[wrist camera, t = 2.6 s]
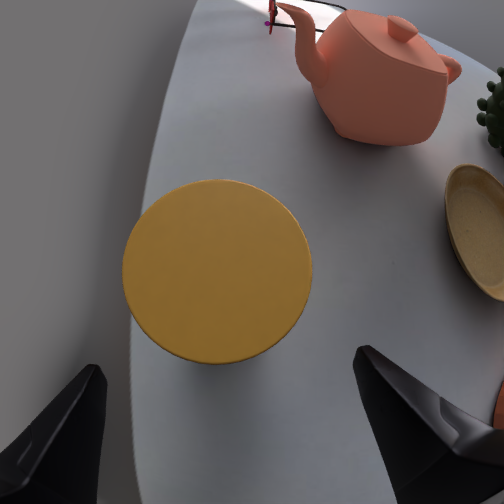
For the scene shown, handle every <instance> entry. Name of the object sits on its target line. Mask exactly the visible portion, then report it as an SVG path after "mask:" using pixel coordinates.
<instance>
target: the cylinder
mask: <svg viewBox="0 0 504 504" xmlns="http://www.w3.org/2000/svg"><path fill="white" fill-rule="evenodd" d="M122 281H123V289H124V294H125V298H126V301H127V304H128V306H129V309H130V311H131V313H132V315H133V317H134V319H135V320H136V322H137V323H138V325H139V326H140V328H141V329H142V330H143V332H144V333H145V334H146V335H147V336H148V337H149V338H150V339H151V340H152V341H153V342H155V343H156V344H157V345H159V346H160V347H161V348H162V349H164V350H166V351H168V352H169V353H171V354H173V355H175V356H177V357H180V358H182V359H185V360H188V361H192V362H196V363H201V364H211V365H220V364H231V363H236V362H241V361H244V360H247V359H250V358H253V357H255V356H257V355H259V354H261V353H263V352H265V351H267V350H268V349H270V348H271V347H273V346H274V345H276V344H277V343H278V342H279V341H280V340H281V339H283V338H284V337H285V336H286V335H287V334H288V333H289V331H290V330H291V329H292V328H293V327H294V325H295V324H296V322H297V321H298V319H299V317H300V316H301V314H302V312H303V310H304V308H305V305H306V303H307V300H308V297H309V293H310V289H311V282H312V260H311V253H310V249H309V246H308V242H307V240H306V237H305V235H304V233H303V230H302V229H301V227H300V225H299V224H298V222H297V220H296V219H295V218H294V216H293V215H292V214H291V212H290V211H289V210H288V209H287V208H286V207H285V206H284V205H283V204H282V203H281V202H279V201H278V200H277V199H276V198H274V197H273V196H272V195H270V194H268V193H267V192H265V191H263V190H261V189H259V188H257V187H254V186H252V185H249V184H246V183H243V182H238V181H233V180H222V179H214V180H203V181H197V182H193V183H190V184H187V185H184V186H181V187H179V188H177V189H174V190H173V191H171V192H169V193H167V194H166V195H164V196H163V197H161V198H160V199H159V200H157V201H156V202H155V203H154V204H153V205H152V206H150V207H149V208H148V209H147V210H146V212H145V213H144V214H143V215H142V216H141V218H140V219H139V220H138V222H137V224H136V225H135V227H134V229H133V231H132V232H131V235H130V237H129V239H128V242H127V245H126V248H125V252H124V257H123V263H122Z"/></svg>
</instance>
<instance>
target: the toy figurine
mask: <svg viewBox="0 0 504 504" xmlns="http://www.w3.org/2000/svg"><path fill="white" fill-rule="evenodd" d="M497 73H498V75H499V76H500V77H501V82H499V83H497V84H495V83H494V82H492V81H489V82H488V83H487V88H488V90H489V91H490V92H492V96H490V97H489V98H488V99H487V101H486V100H485V99H483V98H480V99H479V100H478V101H477V106H478V108H479V109H480V110H481V111H486V114H485V113H482V112H481V113H479V114H477V122H478V123H479V124H480V125H481V126H486V127H487V129H488V132H489V133H490V135H489V138H488V142H489V144H490V145H491V146H492V147H494V148H498V147H499V146H500V147H501V153H502V156H503V157H504V68H503V67H499V68H498V69H497Z"/></svg>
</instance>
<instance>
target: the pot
mask: <svg viewBox="0 0 504 504" xmlns="http://www.w3.org/2000/svg"><path fill="white" fill-rule="evenodd" d="M493 427H494V428H497V429H504V382H503V385H502V387H501V390H500V393H499V396H498V399H497V403H496V408H495V413H494V423H493Z"/></svg>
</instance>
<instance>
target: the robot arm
mask: <svg viewBox="0 0 504 504" xmlns="http://www.w3.org/2000/svg"><path fill="white" fill-rule="evenodd" d="M353 370H354V373H355V377H356V381H357V385H358V389H359V393H360V397H361V400H362V404H363V406H364V409H365V412H366V414H367V417H368V420H369V422H370V425H371V428H372V430H373V433H374V436H375V439H376V441H377V444H378V447H379V450H380V452H381V455H382V458H383V461H384V464H385V467H386V470H387V472H388V475H389V478H390V481H391V484H392V487H393V490H394V492H395V493H394V494H395V497H396V500H397V503H398V504H504V429H497V428H494V427H491V426H489V425H487V424H485V423H483V422H482V421H480V420H478V419H476V418H474V417H472V416H471V415H469V414H467V413H465V412H464V411H462V410H460V409H459V408H457V407H456V406H454V405H453V404H451V403H450V402H448V401H447V400H445V399H444V398H442V397H440V396H439V395H438V394H437V393H435V392H434V391H433V390H431V389H430V388H428V387H427V386H426V385H424V384H423V383H421V382H420V381H419V380H417V379H416V378H414V377H413V376H412V375H410V374H409V373H407V372H406V371H405V370H403V369H402V368H400V367H399V366H398V365H396V364H395V363H394V362H392V361H391V360H389V359H388V358H387V357H385V356H384V355H382V354H381V353H380V352H378V351H377V350H376V349H374V348H373V347H371V346H370V345H365V346H360V347H358V348H357V351H356V354H355V357H354V360H353ZM107 386H108V384H107V379H106V377H105V375H104V374H103V372H102V370H101V368H100V366H98V365H94V364H88V365H87V366H85V368H84V369H82V370H81V372H79V373H78V375H77V376H76V377H75V378H74V379H73V380H72V381H71V382H70V383H69V384H68V385H67V386H66V387H65V388H64V389H63V390H62V391H61V392H60V393H59V394H58V395H57V396H56V397H55V398H54V399H53V400H52V401H51V402H50V403H49V404H48V405H47V407H46V408H45V409H44V410H43V411H42V412H41V413H40V414H39V415H38V416H37V417H36V418H35V419H34V420H33V421H32V422H31V424H30V425H29V426H28V427H27V428H26V429H25V430H24V431H23V432H22V433H21V434H20V435H19V436H18V437H17V438H16V439H15V440H14V441H13V442H12V443H11V444H10V445H9V446H8V447H7V448H6V449H4V450H3V451H2V452H1V453H0V504H97V488H98V475H99V465H100V456H101V447H102V440H103V433H104V426H105V417H106V399H107Z"/></svg>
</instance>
